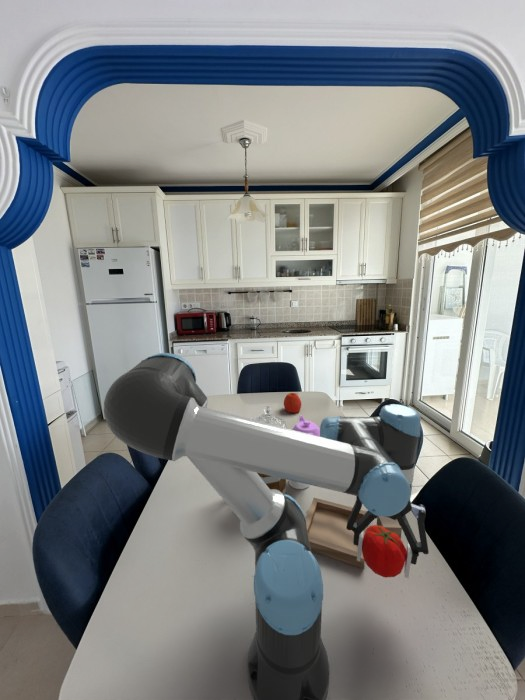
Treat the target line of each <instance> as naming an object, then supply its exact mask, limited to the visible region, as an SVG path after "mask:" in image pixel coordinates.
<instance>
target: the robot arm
mask: <svg viewBox="0 0 525 700" xmlns="http://www.w3.org/2000/svg"><path fill="white" fill-rule="evenodd" d="M208 401H209V398H208V396H207V395H206V394H205V393H204V391H203V389H201V388H200V387H199V385H198V384H197V376H196V373H195V370H194V367H193V366H192V364H191V363H190V362H189V361H188V360H186V358H184V357H182V356H180V355H179V354H176V353H171V352H163V353H157V354H153V355H151V356H147V358H145V359H143V360H141V361H139V363H138V364H136V365H134V367H132V368H131V369H130V370H128V371H127V372H125V373H123V374H121V376H119V377H118V378H117V379H116V380H115V381H114V382H112V384H111V385H110V387H109V388H108V390H107V392H106V394H105V398H104V401H103V415H104V419H105V421H106V424H107V427H108V428H109V429H110V432H111V433H112V434H113V435H114V436H115V437H116V438H117V439H118V440H120V441H121V442H122V443H123V444H125V445H126V446H128V447H129V448H132V449H134V450H136V451H137V452H140V453H142V454H146V455H149V456H152V457H155V458H159V459H161V460H162V459H163V460H168V461H172V462H176V461H178V460H179V459H181V458H183V457H187V458H188V459H189V461H190V462H191V463H192V464H193V465H194V466H195V468H196V469H197V470H198V472H199V473H200V474H201V475H202V476H203V478H205V480H206V481H207V482H208V483H209V484H210V486H212V488H213V489H214V490H215V492H217V494H218V496H219V497H221V498H222V500H223V502H225V504H226V505H227V506H228V507H229V508H230V509H231V511H233V513H234V514H235V515H236V517H237V518H238V519H239V520H240V522H239V531H240V532H241V534H242V536H243V537H244V538H245V540H246V541H248V543H249V544H250V545H251V546H252V548H253V550H254V559H255V561H254V564H255V566H254V567H255V568H254V575H253V576H254V577H253V592H254V597H255V598H254V599H255V602H254V603H255V633H254V635H253V638H252V640H251V642H250V646H249V651H248V655H247V656H248V657H247V678H248V684H249V689H250V692H251V695H252V697H253V700H326V699H327V696H328V692H329V685H330V663H329V658H328V657H329V656H328V653H327V650H326V646H325V645H324V642H323V639H322V615H323V614H322V612H323V611H322V610H323V601H324V581H323V575H322V571H321V567H320V565H319V562H318V560H317V559H316V557H315V555H314V554H313V553H312V551H311V547H310V542H309V538H308V533H307V528H306V518H305V514H304V512H303V510H302V507H301V506H300V504H299V503H298V501H297V500H296V499H295V498H294V497H293V496H291V495H289V494H286V493H285V495H283V494H282V493H281V492H280V491H279V490H276V489H271V490H270V489H269V488H268V486H267V485H266V484H265V482H264V481H263V480H262V479H261V477H260V476H259V475H258V474H257V473H261V474H265V475H269V476H274V477H278V478H282V479H286V481H289V480H291V481H295V482H300V483H304V484H308V485H309V486H312V487H313V486H314V487H317V488H322V489H326V490H331V491H335V492H339V493H343V494H347V495H351V496H356V497H355V498H356V499H355V502H354V503H353V504H354V505H353V507H352V508H353V509H352V511H351V513H350V516H349V518H348V521H347V527H346V528H347V529H348V530H352V531H353V532H354V541H353V543H354V545H357V546H358V554H357V561H360V559H361V550H362V540H363V531H364V529H365V528H366V527H367V526H368V527H369V526H370V525H371V523H372V522H373V521H374V520H377V517H378V516H381V517H389V518H391V519H393V520H396V519H397V520H398V523H399V525H400V526H401V528H402V531H403V532H402V533H403V534H404V536H405V539H406V541H407V545H406V560H405V563H404V567H403V571H404V578H407V579H409V577H410V573H411V572H410V570H411V564H412V565H415V566H416V565H417V562H418V557H419V555H420V553H422V554H423V555H428V554H429V552H430V551H429V545H428V540H427V533H426V532H427V531H426V527H425V526H426V525H425V520H426V516H427V514H426V506H425V505H424V504H421V503H420V504H418V505H417V504H414V503H412V501H411V497H412V490H413V489H412V488H413V481H414V475H415V467H416V461H417V454H418V446H419V441H420V437H421V425H422V424H421V423H422V422H421V421H422V420H421V419H422V418H421V415H420V414H419V412H417V411H416V410H415V409H414V408H412V407H409V406H406V405H403V404H397V403H396V404H395V403H391V404H386V405H383V406H382V407H381V409H380V411H379V416H376V415H375V416H342V415H338V416H331V417H329V416H327V417H324V418H323V419H322V420H321V422H320V426H319V429H320V437H319V436H315V435H311V434H307V433H303V432H299V431H295V430H292V429H290V428H288V427H287V428H286V427H283V426H279V425H275V424H271V423H267V422H263V421H259V420H255V419H251V418H247V417H244V416H239V415H236V414H235V415H234V414H232V413H231V414H230V413H227V412H224V411H223V412H222V411H219V410H216V409H213V408H208V403H209V402H208ZM362 506H364V508H366V510H367V512H366V513H365V514H364V515H363V516H362V517H361V519H360V520H359V521H358V522H357V523H355V521H356V519H357V516H358V514H359V512H360V510H362ZM411 512H412V513H413V516H414V517H415V518H416V520H417V521H416V522H417V523H416V524H417V529H418V534H419V535H418V536H419V541H418V540H417V538H416V536H415V534H414V531H413V529H412V528H411V525H410V522H409V521H408V519H407V516H406V515H407V514H409V513H411Z"/></svg>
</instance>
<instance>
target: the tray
mask: <svg viewBox="0 0 525 700" xmlns="http://www.w3.org/2000/svg"><path fill="white" fill-rule="evenodd" d="M352 509H353V507H351V506H348V505H343V504H341V503H336V502H333V501H329V500H325V499H321V498H318V497H313V498H312V502H311V504H310V506H309V509H308V513H307V516H306V518H305V520H306V528H307V533H308V538H309V542H310V547H311V552H313V553H316V554H318V555H322V556H323V557H324V556H325V557H328V558H331V559H334V560H337V561H340V562H341V563H342V562H343V563H345V564H349V565H352V566H354V567H357V568H360V569H363V570H364V569H365V564H366V562H365V560H364V557H363V553H362V550H361V559H360V561H357V554H358V546H357V545H354V543H353V541H354V532H353V531H352V530H348V529H347V528H346V527H347V521H348V518H349V516H350V513H351V511H352ZM367 511H368V510H367ZM367 511H366V510H363V509H361V510H360V512H359V514H358V516H357V519H356V521H355V523H357V522H358V521H359V520H360V519H361V517H362V516H363V515H364V514H365V513H366V512H367ZM368 527H369V525H368V526H367V527H366V528H365V529H364V531H363V538H364V535H365V531H366V530H367V528H368ZM362 541H363V540H362Z"/></svg>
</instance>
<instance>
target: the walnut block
mask: <svg viewBox="0 0 525 700" xmlns="http://www.w3.org/2000/svg"><path fill="white" fill-rule="evenodd" d="M376 525H378V526H383V527H384V528H385V529H387V530H388V531H391V532H394V533H396V534H397V535H398V536H399V537H400V539H401V540H402V533H403V532H402V531H403V530H402V528H401V526H400V525H399V523H398V520H397V519H396V520H393V519H391V518H389V517H381V516H378V517H377V518H376Z"/></svg>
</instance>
